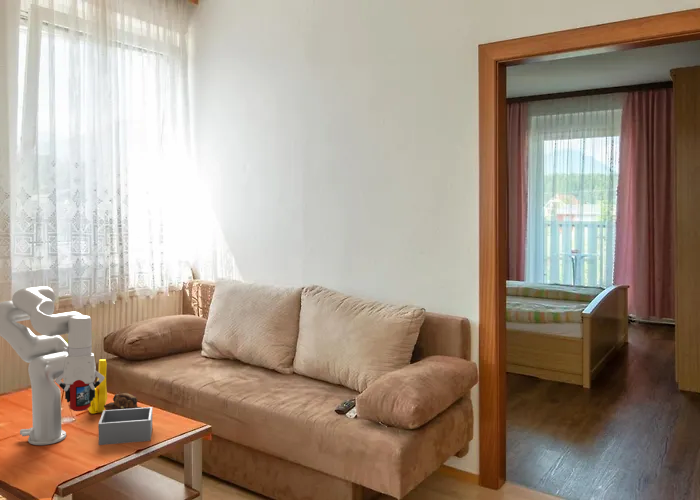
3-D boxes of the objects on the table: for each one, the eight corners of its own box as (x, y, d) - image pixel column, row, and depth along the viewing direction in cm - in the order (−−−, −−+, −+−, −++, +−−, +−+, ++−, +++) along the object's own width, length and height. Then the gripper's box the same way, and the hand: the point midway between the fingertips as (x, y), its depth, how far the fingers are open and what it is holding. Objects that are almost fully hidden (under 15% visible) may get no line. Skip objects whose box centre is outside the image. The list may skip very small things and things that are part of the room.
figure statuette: (84, 406, 253) (83, 356, 251) (103, 403, 257) (103, 354, 256) (91, 420, 238) (90, 367, 236) (111, 416, 243) (111, 364, 241)
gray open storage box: (98, 445, 215) (98, 423, 214) (103, 430, 228) (103, 410, 227) (150, 440, 220) (150, 420, 219) (152, 426, 233) (152, 407, 232)
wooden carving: (101, 418, 240) (101, 394, 239) (107, 414, 245) (107, 391, 244) (138, 421, 238) (138, 397, 237) (144, 417, 242) (144, 394, 241)
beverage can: (82, 413, 203) (82, 379, 202) (65, 411, 205) (65, 377, 204) (94, 406, 210) (94, 373, 209) (78, 404, 211) (77, 372, 210)
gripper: (50, 354, 200) (50, 405, 201) (105, 352, 204) (105, 402, 206) (55, 349, 207) (55, 398, 208) (107, 347, 211) (108, 395, 213)
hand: (80, 400), depth 207 cm, fingers closed on beverage can, 6 cm apart
